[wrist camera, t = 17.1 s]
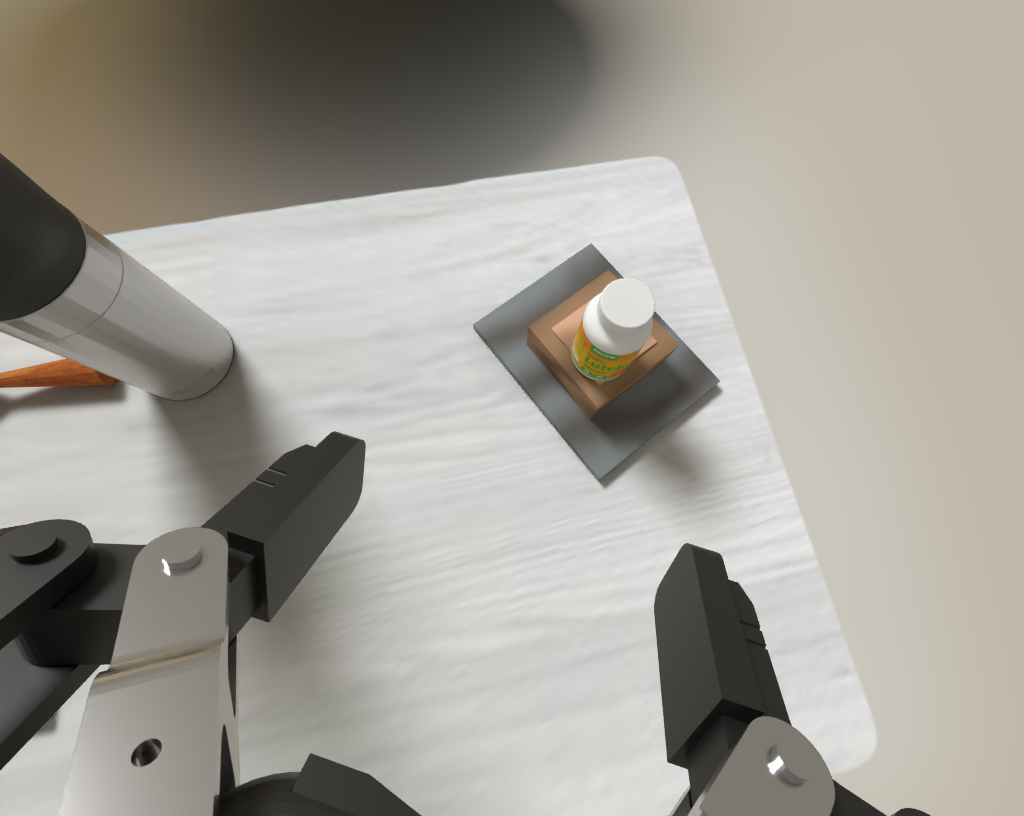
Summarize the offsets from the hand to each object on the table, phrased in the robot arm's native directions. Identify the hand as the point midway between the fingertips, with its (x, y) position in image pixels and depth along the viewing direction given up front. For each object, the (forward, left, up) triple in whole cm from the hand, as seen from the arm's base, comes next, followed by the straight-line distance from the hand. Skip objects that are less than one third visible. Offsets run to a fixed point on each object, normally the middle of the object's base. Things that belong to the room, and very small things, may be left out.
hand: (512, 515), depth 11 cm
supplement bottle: (-7, +16, -28) cm, 33 cm away
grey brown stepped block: (-8, +18, -33) cm, 38 cm away
